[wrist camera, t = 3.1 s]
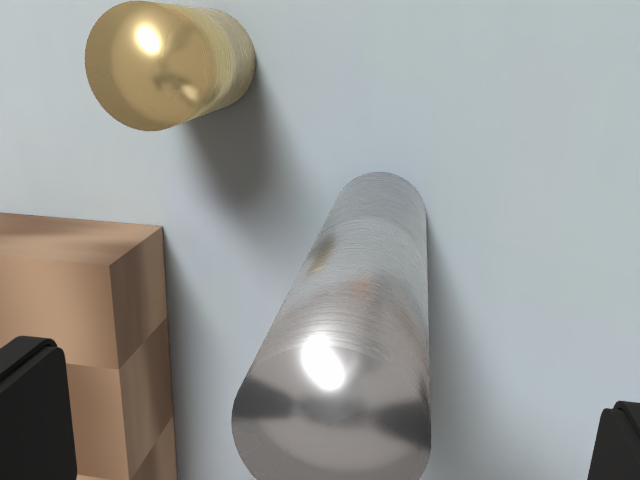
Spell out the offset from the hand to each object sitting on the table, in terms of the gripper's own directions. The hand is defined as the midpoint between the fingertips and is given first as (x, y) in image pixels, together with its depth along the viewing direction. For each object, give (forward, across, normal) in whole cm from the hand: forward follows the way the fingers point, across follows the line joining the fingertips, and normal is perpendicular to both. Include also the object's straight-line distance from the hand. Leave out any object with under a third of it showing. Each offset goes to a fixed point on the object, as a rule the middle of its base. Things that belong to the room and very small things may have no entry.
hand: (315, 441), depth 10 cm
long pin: (+11, 0, -1) cm, 11 cm away
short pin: (+11, +6, -6) cm, 14 cm away
